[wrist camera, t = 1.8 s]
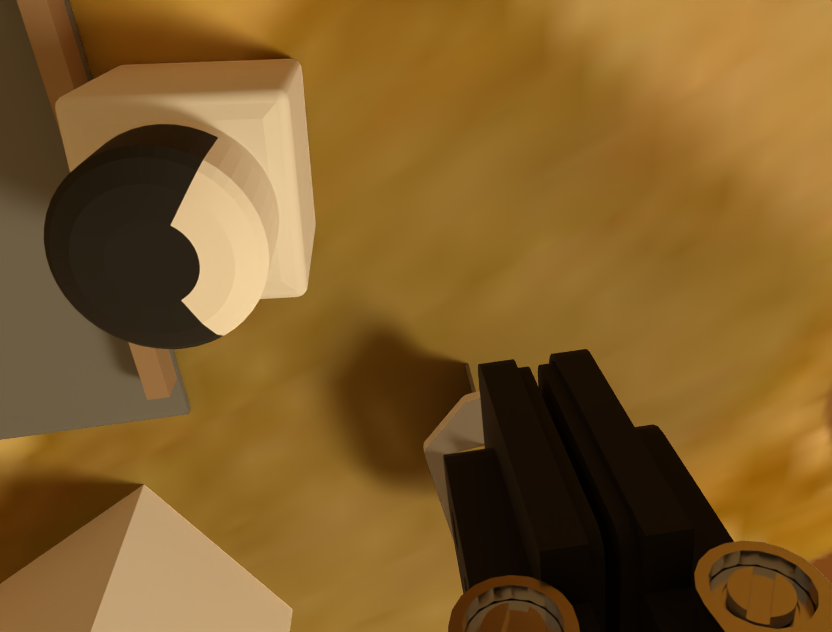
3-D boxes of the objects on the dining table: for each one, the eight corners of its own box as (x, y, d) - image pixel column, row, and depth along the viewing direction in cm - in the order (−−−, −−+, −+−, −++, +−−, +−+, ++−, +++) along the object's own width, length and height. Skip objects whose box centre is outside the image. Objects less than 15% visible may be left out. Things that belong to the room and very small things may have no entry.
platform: (403, 580, 43) (411, 682, 37) (296, 309, 35) (284, 383, 29) (609, 526, 42) (650, 621, 36) (548, 236, 34) (588, 298, 28)
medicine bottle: (149, 237, 32) (47, 385, 22) (115, 63, 29) (-24, 135, 18) (316, 229, 33) (299, 370, 22) (301, 56, 29) (271, 124, 19)
